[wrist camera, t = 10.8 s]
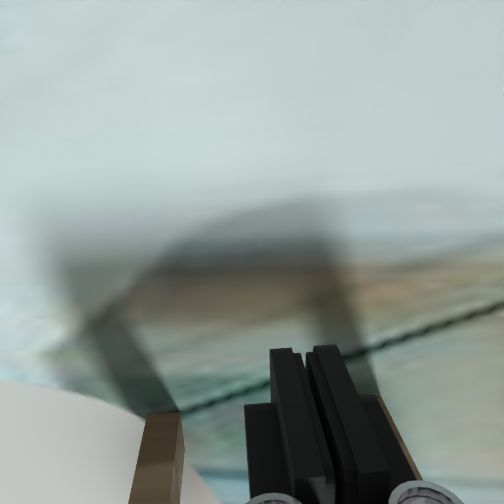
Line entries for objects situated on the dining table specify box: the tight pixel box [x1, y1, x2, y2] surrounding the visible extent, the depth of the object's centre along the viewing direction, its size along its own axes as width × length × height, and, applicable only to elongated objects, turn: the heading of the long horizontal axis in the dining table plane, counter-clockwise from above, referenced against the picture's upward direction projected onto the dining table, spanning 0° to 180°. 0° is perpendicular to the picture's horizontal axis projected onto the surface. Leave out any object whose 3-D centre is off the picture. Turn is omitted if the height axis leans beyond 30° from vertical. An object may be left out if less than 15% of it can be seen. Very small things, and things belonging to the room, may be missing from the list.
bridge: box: [128, 397, 423, 504], centre depth 25 cm, size 3×14×9 cm, turn 92°
